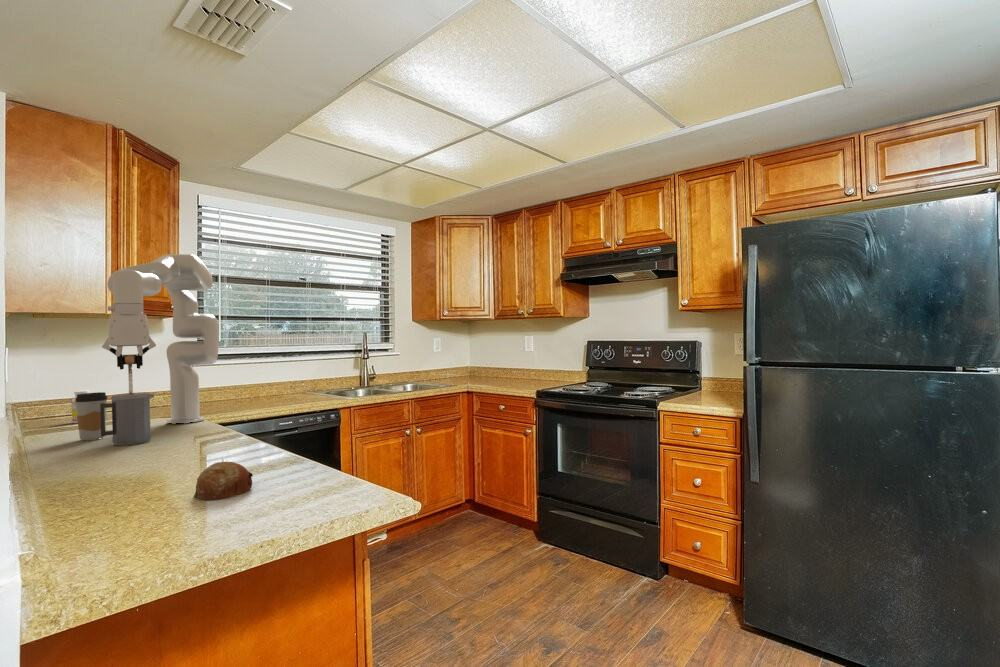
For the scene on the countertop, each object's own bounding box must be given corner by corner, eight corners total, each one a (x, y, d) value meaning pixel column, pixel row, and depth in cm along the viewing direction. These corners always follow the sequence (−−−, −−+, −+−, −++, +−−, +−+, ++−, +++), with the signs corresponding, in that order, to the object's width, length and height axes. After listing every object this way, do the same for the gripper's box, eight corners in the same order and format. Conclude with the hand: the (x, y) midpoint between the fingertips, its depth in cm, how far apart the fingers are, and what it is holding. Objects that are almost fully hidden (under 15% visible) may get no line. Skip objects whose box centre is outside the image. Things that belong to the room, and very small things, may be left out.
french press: (103, 443, 158) (102, 394, 158) (155, 438, 165) (154, 391, 165) (99, 448, 150) (98, 397, 150) (154, 442, 157) (152, 393, 157)
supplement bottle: (89, 420, 212) (88, 389, 212) (96, 421, 209) (95, 390, 209) (69, 423, 206) (68, 391, 207) (76, 424, 203) (75, 392, 203)
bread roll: (199, 509, 102) (178, 477, 100) (247, 477, 109) (229, 446, 106) (214, 521, 95) (192, 486, 93) (265, 486, 101) (245, 453, 99)
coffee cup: (104, 435, 173) (103, 391, 173) (111, 438, 167) (110, 392, 168) (73, 440, 166) (72, 394, 166) (79, 442, 161) (78, 395, 161)
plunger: (120, 415, 159) (119, 354, 159) (143, 413, 162) (142, 354, 162) (118, 417, 154) (116, 355, 154) (142, 415, 157) (140, 354, 157)
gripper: (93, 309, 151) (94, 370, 151) (160, 309, 159) (161, 367, 159) (96, 310, 157) (98, 370, 157) (161, 310, 166) (162, 366, 166)
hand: (130, 368), depth 158 cm, fingers closed on plunger, 3 cm apart
